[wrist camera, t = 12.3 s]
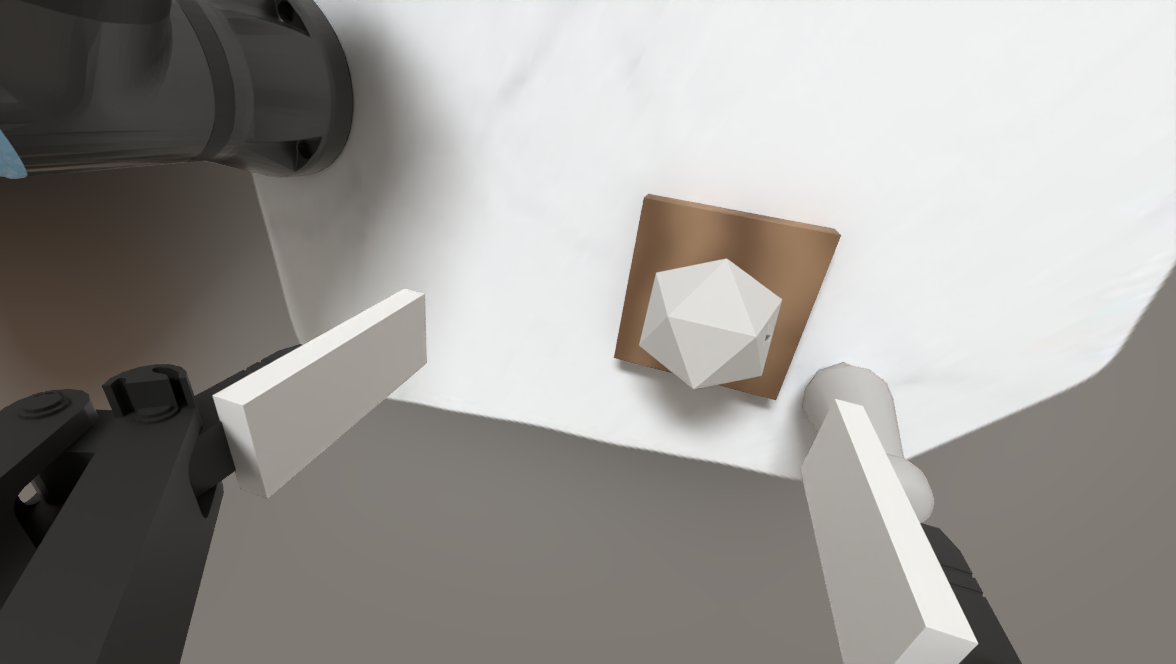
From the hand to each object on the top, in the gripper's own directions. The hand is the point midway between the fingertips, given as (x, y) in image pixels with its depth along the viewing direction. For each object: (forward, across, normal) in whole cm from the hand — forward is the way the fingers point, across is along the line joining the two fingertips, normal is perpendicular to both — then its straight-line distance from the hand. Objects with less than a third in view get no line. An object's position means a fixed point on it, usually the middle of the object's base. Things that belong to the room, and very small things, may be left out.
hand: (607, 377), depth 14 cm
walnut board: (+22, +4, -4) cm, 23 cm away
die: (+20, +4, -4) cm, 21 cm away
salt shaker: (+22, +15, -9) cm, 28 cm away
